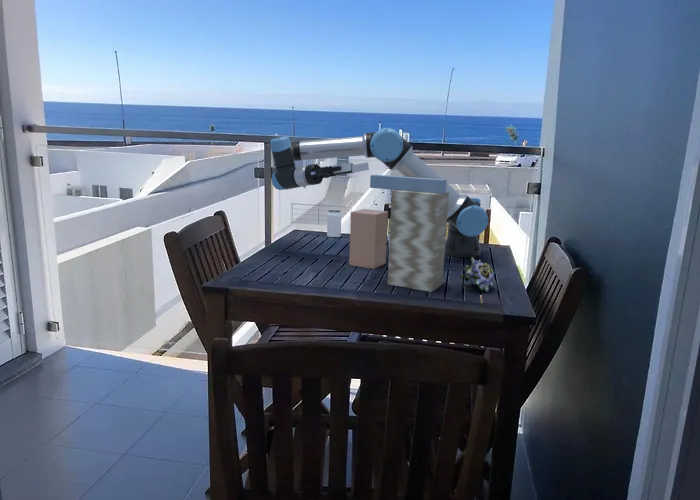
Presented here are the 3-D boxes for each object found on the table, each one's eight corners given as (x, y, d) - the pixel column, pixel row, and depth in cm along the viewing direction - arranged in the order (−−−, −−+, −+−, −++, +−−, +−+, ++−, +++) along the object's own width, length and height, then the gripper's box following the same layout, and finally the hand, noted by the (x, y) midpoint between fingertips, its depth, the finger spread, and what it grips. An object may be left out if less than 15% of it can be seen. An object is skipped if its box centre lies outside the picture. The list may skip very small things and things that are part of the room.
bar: (370, 187, 169) (370, 175, 168) (375, 186, 172) (375, 174, 171) (441, 193, 158) (442, 180, 157) (445, 192, 161) (446, 179, 160)
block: (349, 265, 191) (350, 212, 187) (361, 259, 200) (363, 208, 196) (373, 269, 187) (376, 214, 183) (385, 263, 196) (387, 211, 191)
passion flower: (483, 307, 166) (484, 283, 157) (452, 294, 171) (451, 271, 162) (499, 282, 171) (500, 258, 162) (469, 271, 176) (468, 246, 168)
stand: (387, 284, 168) (391, 190, 162) (399, 277, 177) (404, 188, 171) (431, 291, 162) (438, 194, 155) (442, 284, 170) (449, 191, 164)
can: (341, 235, 246) (342, 210, 243) (340, 238, 240) (340, 212, 237) (327, 235, 247) (328, 209, 244) (325, 237, 240) (326, 211, 238)
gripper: (327, 184, 207) (376, 176, 196) (291, 186, 185) (343, 178, 174) (325, 164, 206) (373, 155, 195) (288, 165, 184) (340, 155, 174)
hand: (359, 166), depth 185 cm, fingers open, 13 cm apart
